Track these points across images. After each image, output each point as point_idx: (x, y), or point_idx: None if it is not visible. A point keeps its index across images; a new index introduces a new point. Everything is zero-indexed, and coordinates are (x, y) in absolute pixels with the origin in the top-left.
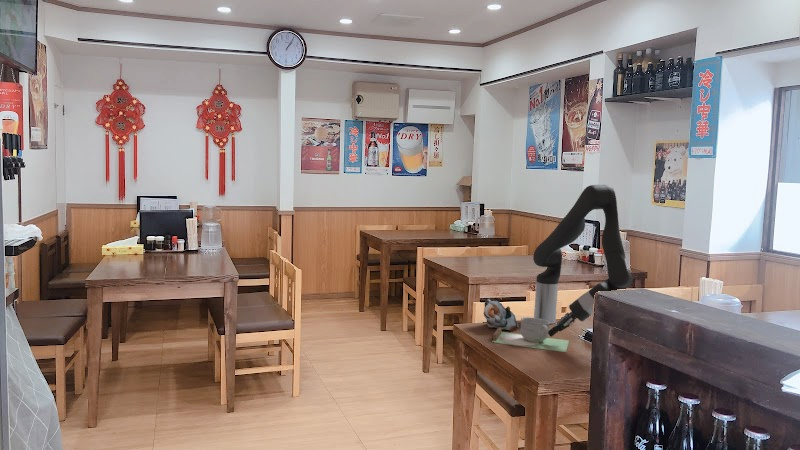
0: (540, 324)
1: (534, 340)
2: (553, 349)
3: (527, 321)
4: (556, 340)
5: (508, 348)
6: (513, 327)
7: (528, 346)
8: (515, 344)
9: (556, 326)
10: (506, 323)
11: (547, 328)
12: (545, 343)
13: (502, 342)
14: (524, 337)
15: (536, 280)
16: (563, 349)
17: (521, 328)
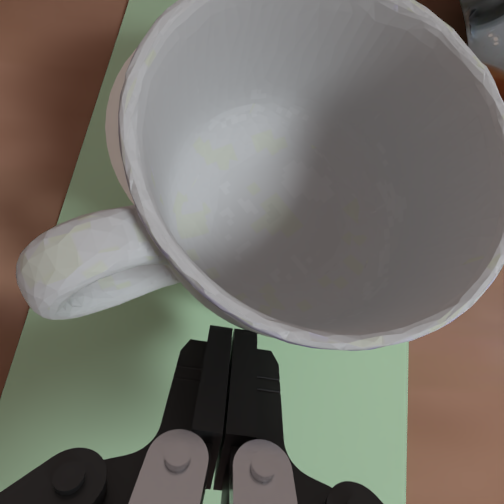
0: (129, 182)
1: (185, 216)
2: (29, 386)
3: (431, 92)
4: (355, 431)
5: (14, 42)
6: (500, 86)
7: (81, 175)
8: (114, 88)
9: (43, 469)
10: (498, 13)
11: (30, 295)
12: (217, 320)
13: (146, 15)
14: (219, 134)
15: None
16: None
17: (249, 56)
